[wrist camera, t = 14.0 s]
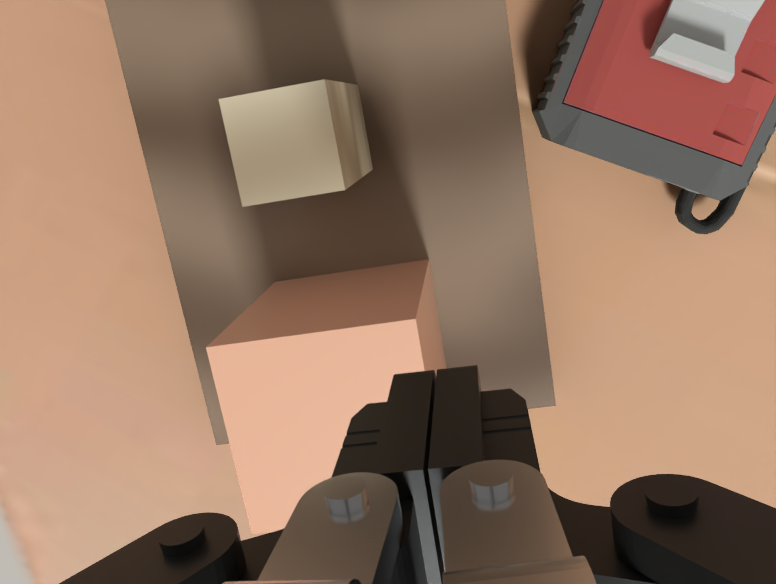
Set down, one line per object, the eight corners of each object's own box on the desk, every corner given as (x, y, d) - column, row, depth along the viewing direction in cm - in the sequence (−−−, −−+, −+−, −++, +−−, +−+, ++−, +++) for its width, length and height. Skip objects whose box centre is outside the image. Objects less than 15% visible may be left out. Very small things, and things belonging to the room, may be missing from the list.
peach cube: (274, 281, 24) (205, 347, 17) (428, 259, 23) (415, 318, 17) (305, 424, 25) (251, 534, 19) (452, 406, 24) (449, 515, 18)
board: (78, -194, 22) (-91, -323, 15) (464, -293, 20) (465, -488, 14) (229, 426, 27) (151, 534, 20) (550, 388, 25) (581, 492, 19)
